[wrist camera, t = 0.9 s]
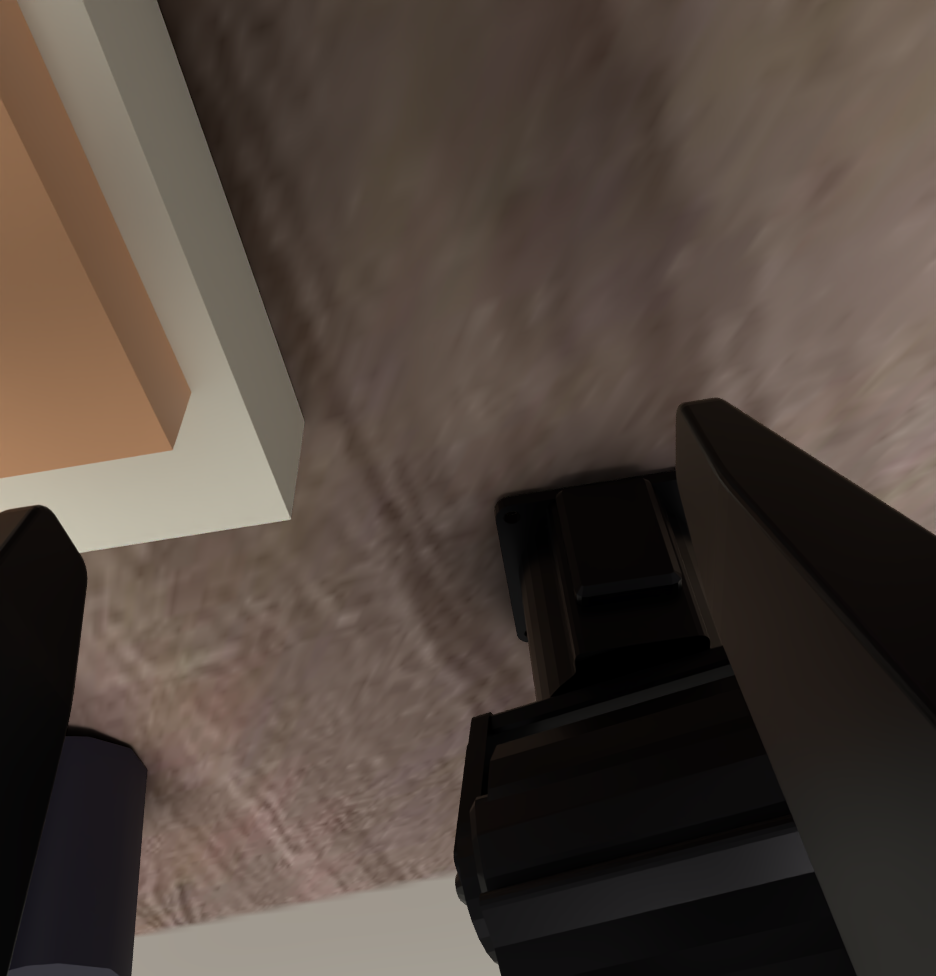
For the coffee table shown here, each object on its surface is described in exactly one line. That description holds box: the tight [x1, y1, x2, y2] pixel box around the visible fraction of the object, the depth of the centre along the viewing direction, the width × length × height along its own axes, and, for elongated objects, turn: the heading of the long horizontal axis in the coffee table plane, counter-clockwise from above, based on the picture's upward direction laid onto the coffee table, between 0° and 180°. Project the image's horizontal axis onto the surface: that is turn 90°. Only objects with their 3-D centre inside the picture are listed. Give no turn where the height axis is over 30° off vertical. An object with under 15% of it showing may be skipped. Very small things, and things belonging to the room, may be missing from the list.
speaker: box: [8, 736, 147, 976], centre depth 30 cm, size 8×6×10 cm
